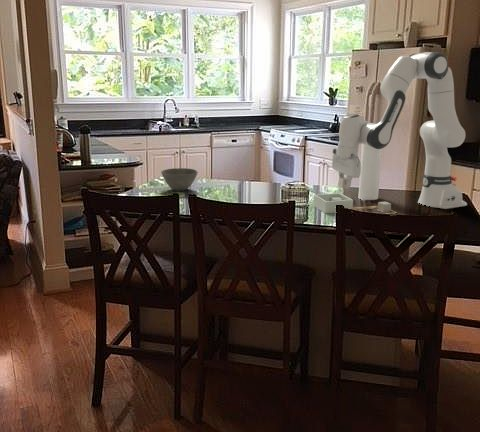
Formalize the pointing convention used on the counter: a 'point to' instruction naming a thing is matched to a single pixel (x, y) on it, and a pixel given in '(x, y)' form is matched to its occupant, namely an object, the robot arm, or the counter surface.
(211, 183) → the counter surface
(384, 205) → the stone
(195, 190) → the counter surface
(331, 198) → the stone
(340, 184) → the stone
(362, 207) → the gravel tray
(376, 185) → the cylinder container
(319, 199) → the tub
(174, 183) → the bowl
